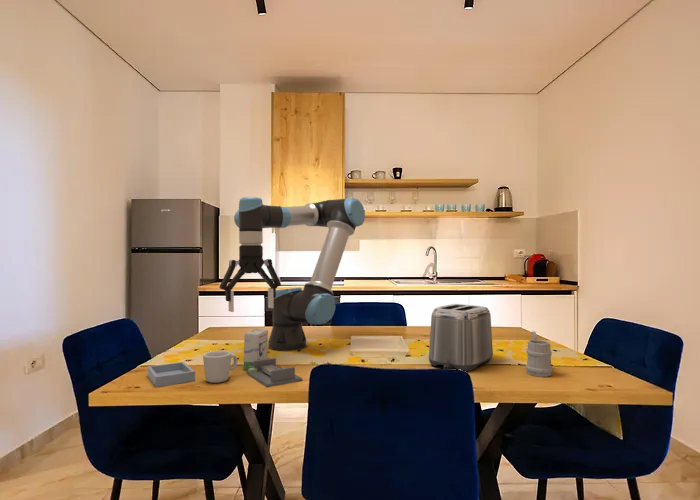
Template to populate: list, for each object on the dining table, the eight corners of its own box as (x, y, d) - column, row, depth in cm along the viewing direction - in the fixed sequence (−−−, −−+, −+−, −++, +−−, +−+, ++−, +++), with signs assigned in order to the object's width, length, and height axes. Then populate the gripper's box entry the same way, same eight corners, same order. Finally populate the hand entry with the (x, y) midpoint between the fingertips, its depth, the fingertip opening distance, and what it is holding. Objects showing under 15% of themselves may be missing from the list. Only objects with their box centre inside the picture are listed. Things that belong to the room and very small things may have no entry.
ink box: (253, 363, 148) (253, 328, 148) (268, 364, 147) (268, 329, 147) (242, 370, 140) (242, 333, 140) (258, 371, 139) (258, 333, 139)
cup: (228, 373, 136) (228, 347, 136) (244, 378, 131) (244, 351, 131) (197, 381, 128) (197, 353, 128) (213, 386, 123) (213, 358, 123)
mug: (529, 376, 132) (529, 337, 132) (519, 366, 144) (519, 330, 144) (556, 377, 131) (556, 337, 131) (544, 367, 143) (544, 330, 143)
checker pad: (272, 368, 137) (272, 364, 137) (286, 375, 129) (286, 371, 129) (260, 370, 135) (260, 366, 135) (274, 377, 127) (274, 373, 127)
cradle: (279, 368, 142) (279, 356, 142) (302, 380, 128) (302, 367, 128) (246, 373, 136) (246, 361, 136) (267, 387, 122) (267, 373, 122)
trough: (183, 370, 139) (183, 361, 139) (194, 381, 128) (194, 371, 128) (147, 375, 134) (147, 366, 134) (155, 387, 122) (155, 377, 122)
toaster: (500, 359, 154) (500, 304, 154) (463, 377, 132) (463, 314, 132) (456, 352, 165) (456, 301, 165) (415, 368, 142) (415, 309, 142)
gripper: (280, 244, 154) (281, 305, 154) (209, 244, 139) (209, 311, 140) (290, 244, 147) (291, 307, 147) (216, 244, 133) (217, 314, 133)
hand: (251, 309), depth 143 cm, fingers open, 13 cm apart
